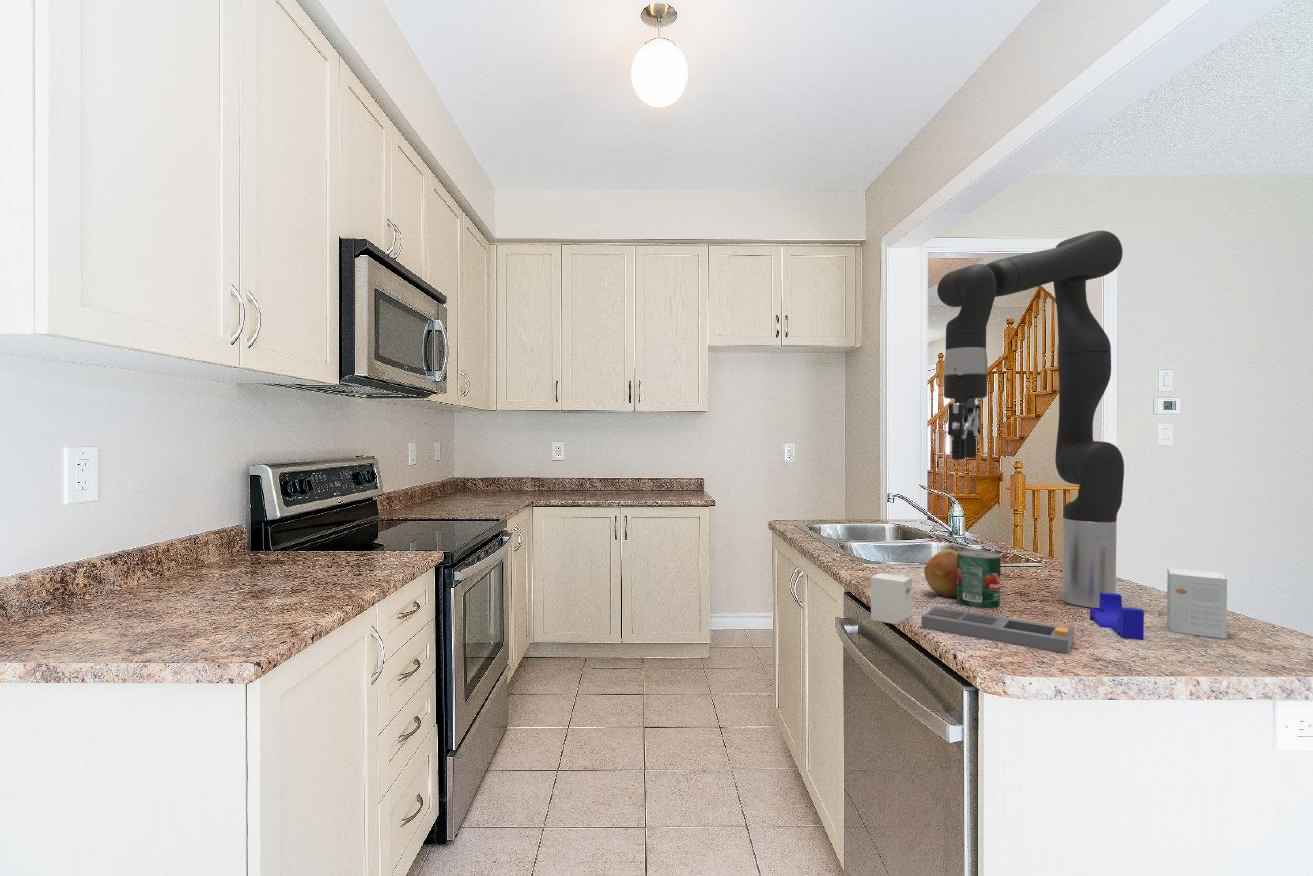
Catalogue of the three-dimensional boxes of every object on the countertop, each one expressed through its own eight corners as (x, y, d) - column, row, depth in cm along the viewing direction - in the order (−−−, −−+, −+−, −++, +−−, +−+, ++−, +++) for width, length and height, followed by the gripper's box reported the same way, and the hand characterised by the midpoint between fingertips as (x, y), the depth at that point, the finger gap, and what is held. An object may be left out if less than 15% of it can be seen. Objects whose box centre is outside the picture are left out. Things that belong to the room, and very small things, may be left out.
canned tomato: (954, 601, 139) (954, 548, 139) (996, 604, 137) (997, 550, 137) (959, 611, 132) (959, 555, 132) (1003, 615, 129) (1004, 558, 129)
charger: (879, 614, 130) (879, 573, 130) (911, 620, 126) (912, 577, 126) (870, 619, 126) (871, 577, 126) (903, 625, 122) (904, 582, 122)
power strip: (934, 622, 124) (934, 603, 124) (1074, 646, 111) (1074, 625, 111) (921, 633, 118) (921, 612, 118) (1067, 660, 104) (1068, 637, 104)
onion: (922, 589, 150) (923, 544, 149) (971, 593, 147) (972, 547, 146) (925, 600, 140) (926, 552, 140) (978, 604, 137) (978, 555, 137)
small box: (1222, 631, 119) (1223, 572, 119) (1227, 640, 115) (1228, 578, 114) (1166, 624, 124) (1167, 567, 124) (1168, 632, 119) (1169, 572, 119)
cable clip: (1089, 624, 124) (1090, 592, 124) (1118, 626, 123) (1118, 593, 123) (1111, 644, 113) (1112, 608, 113) (1143, 647, 111) (1143, 611, 111)
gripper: (954, 376, 136) (953, 456, 136) (934, 371, 125) (933, 459, 125) (995, 374, 131) (994, 457, 132) (978, 369, 120) (977, 460, 120)
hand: (964, 458), depth 128 cm, fingers open, 8 cm apart
